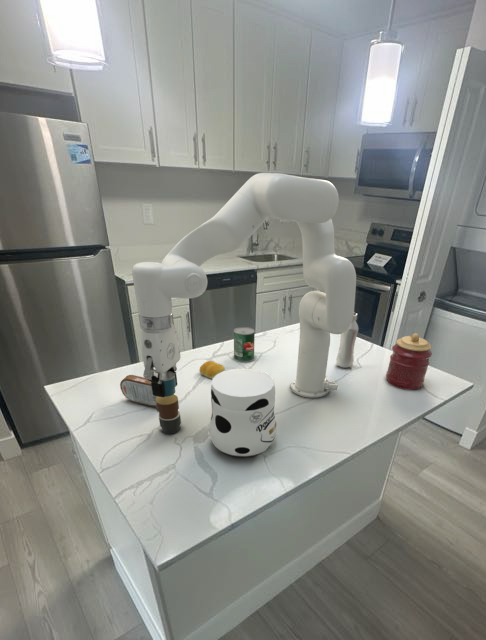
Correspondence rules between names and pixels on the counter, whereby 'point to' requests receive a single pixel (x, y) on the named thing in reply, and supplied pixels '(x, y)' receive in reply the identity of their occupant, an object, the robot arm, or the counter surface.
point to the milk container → (243, 412)
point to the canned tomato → (244, 344)
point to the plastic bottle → (347, 345)
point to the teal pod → (168, 382)
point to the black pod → (170, 424)
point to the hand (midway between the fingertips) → (165, 389)
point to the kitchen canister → (409, 362)
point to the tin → (138, 390)
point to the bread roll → (211, 369)
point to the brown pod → (167, 406)
